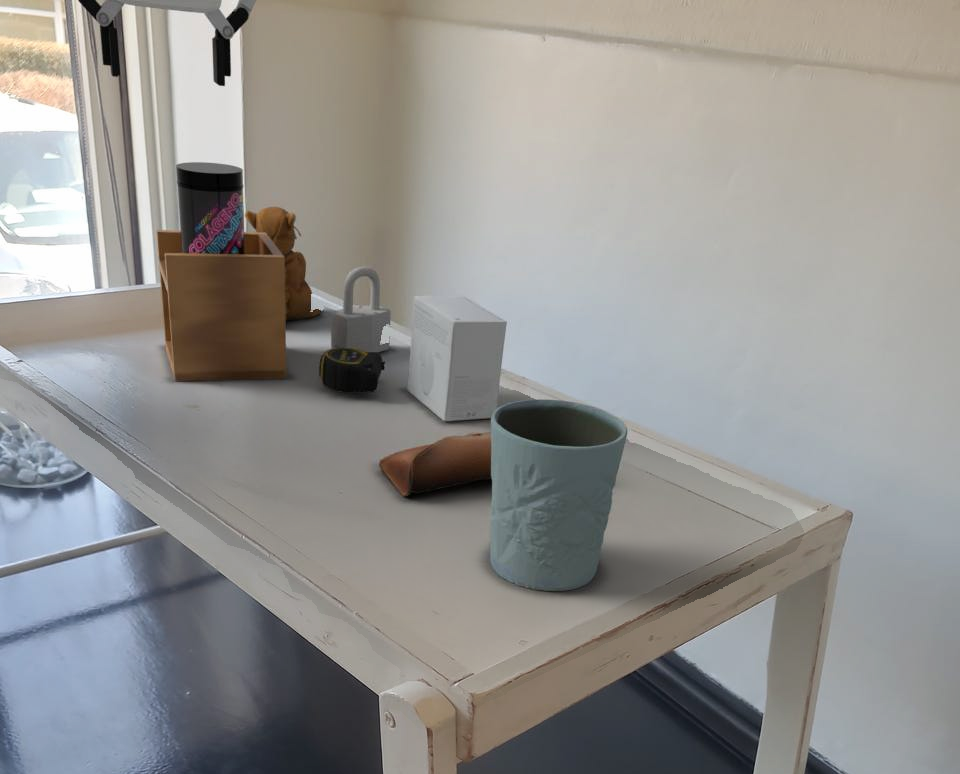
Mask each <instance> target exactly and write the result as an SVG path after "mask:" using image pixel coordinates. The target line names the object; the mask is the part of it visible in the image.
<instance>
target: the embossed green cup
mask: <svg viewBox="0 0 960 774" xmlns="http://www.w3.org/2000/svg"><path fill="white" fill-rule="evenodd" d="M490 432H491V478H492V479H491V503H490V507H491V515H492V518H491V523H490V525H489V560H490V564H491V567H492V569H493V570H494V572H495V573H496V574H497V575H498V576H499V577H500V578H502V579H504V580H506V581H507V582H509V583H511V584H515V585H516V586H519V587H525V588H526V589H531V590H535V591H544V592H545V591H546V592H559V591H560V592H565V591H571V590H576V589H579V588H581V587H584V586H586V585H587V584H589V583H590V582H591V581H592V580H593V578H594V577H595V575H596V573H597V569H598V565H599V561H600V557H601V552H602V549H603V545H604V538H605V531H606V529H607V526H608V522H609V518H610V517H609V516H610V513H611V510H612V506H613V491H614V490H613V489H614V488H615V486H616V483H617V475H618V473H619V469H620V465H621V461H622V458H623V453H624V450H625V445H626V442H627V438H628V427H627V426H626V424H625V422H624V421H623V420H622V419H621V418H619V417H617V416H615V415H614V414H611V413H610V412H608V411H606V410H604V409H602V408H599V407H597V406H593V405H589V404H585V403H581V402H576V401H575V402H574V401H569V400H561V399H560V400H559V399H524V400H518V401H517V400H516V401H512V402H509V403H506V404H503V405H500V406H499V407H497V409H496V410H495V411H494V412H493V415H492V417H491V418H490Z"/></svg>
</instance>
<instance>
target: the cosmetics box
mask: <svg viewBox="0 0 960 774" xmlns="http://www.w3.org/2000/svg"><path fill="white" fill-rule="evenodd" d="M507 324H508V321H507V320H505V319H504V318H501V317H500V316H498V315H497V314H495V313H493V312H491V311H490V310H488V309H486V308H485V307H483V306H481V305H480V304H479V303H477V302H474V301H473V300H471V299H470V298H468V297H466V296H465V295H414V296H413V298H412V321H411V337H410V351H409V352H410V353H409V365H408V366H409V367H408V369H409V370H408V377H407V378H408V379H407V387H406V390H407V392H409V393H410V394H411V395H412V396H414V398H416V399H417V400H418V401H419V402H420V403H422V404H423V405H424V406H425V407H427V409H429V410H430V411H432V412H433V413H434V415H436V416H437V417H439V418H440V419H441V420H442V421H443V422H454V421H456V422H457V421H467V420H483V419H491V417H492V415H493V412H494V411H495V410H496V409H497V408H498V400H499V399H498V398H499V391H500V381H501V373H502V366H503V365H502V363H503V357H504V356H503V355H504V346H505V340H506V332H507Z"/></svg>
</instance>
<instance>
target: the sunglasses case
mask: <svg viewBox="0 0 960 774" xmlns="http://www.w3.org/2000/svg"><path fill="white" fill-rule="evenodd" d="M378 466H379V468H380V469H381V471H382V473H383V474H384V476H385V477H386V479H387V480H388V482H390V483H391V484H392V486H393V487H394V488H395V489H396V491H397V492H398V493H399V494H400V495H401V496H402V497H404V498H405V497H408V496H410V495H411V494H412V493H415V494H419V493H425V492H428V491H435V490H439V489H444V488H450V487H454V486H457V485H465V484H469V483H473V482H476V481H480V480H482V481H488V480H492V478H491V431H489V432H470V433H468V434H465V435H450V436H445V437H443V438H441V439H439V440H437V441H435V442H433V443H430V444H424V445H419V446H415V447H411V448H406V449H403V450H399V451H396V452H394V453H392V454H389V455H387V456H384V457H382V458H381V459H379V463H378Z"/></svg>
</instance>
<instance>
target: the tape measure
mask: <svg viewBox="0 0 960 774" xmlns="http://www.w3.org/2000/svg"><path fill="white" fill-rule="evenodd" d="M385 364H386V361H383V357H382V354H380V352H365V351H361V350H358V349H353V348H335V349H331V348H330V349H328V350H326V351H324V352H323V353H322V355H321V357H320V358H319V364H318V375H319V379H320V381H321V383H322V385H323V386H324V387H326V388H328V389H330V390H333V391H335V392H340V393H346V394H357V393H360V394H361V393H373V392H375V391H376V390H377V389H378V385H379V381H380V377H381V374H382V371H384V370H385V368H386V366H385Z"/></svg>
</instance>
